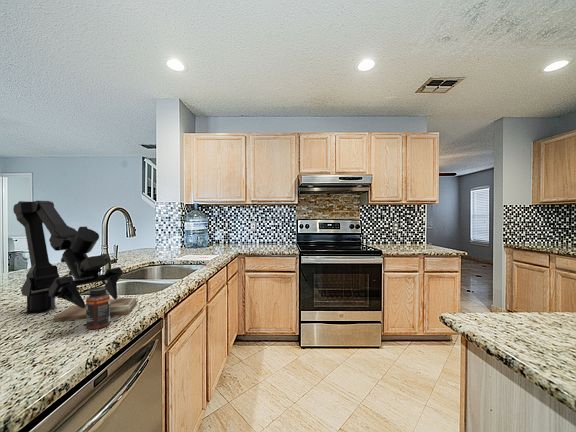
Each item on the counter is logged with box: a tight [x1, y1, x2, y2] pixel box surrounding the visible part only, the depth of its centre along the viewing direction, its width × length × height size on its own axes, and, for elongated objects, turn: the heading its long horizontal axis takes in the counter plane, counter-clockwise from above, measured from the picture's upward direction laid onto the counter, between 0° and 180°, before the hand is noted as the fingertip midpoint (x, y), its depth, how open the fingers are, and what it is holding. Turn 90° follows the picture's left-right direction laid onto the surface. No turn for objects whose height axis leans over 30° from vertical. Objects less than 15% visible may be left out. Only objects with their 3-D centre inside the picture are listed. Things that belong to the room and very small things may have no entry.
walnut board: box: [52, 296, 138, 323], centre depth 96 cm, size 21×12×3 cm, turn 106°
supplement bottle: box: [85, 286, 111, 330], centre depth 83 cm, size 6×6×11 cm
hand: (101, 302), depth 83 cm, fingers open, 9 cm apart
